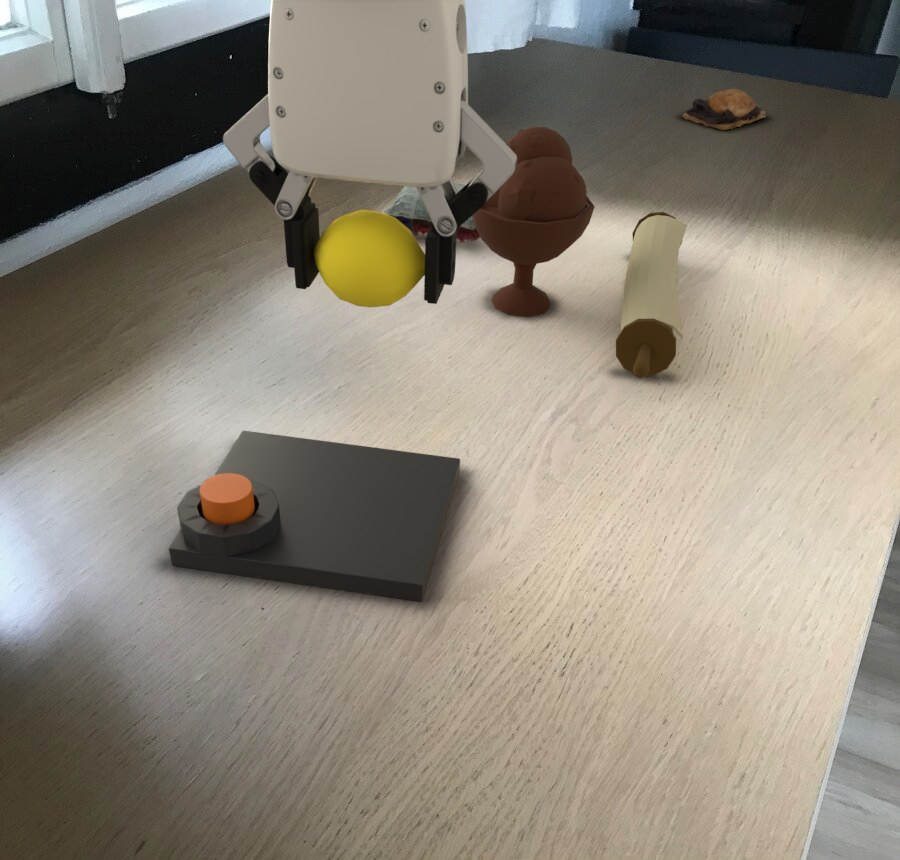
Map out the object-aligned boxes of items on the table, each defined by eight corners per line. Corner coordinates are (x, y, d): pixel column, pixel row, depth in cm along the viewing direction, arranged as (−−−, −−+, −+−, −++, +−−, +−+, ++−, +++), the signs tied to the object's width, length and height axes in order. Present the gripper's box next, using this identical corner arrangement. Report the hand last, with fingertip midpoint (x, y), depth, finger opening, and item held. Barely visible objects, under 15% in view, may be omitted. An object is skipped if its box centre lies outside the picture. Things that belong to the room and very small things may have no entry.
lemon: (301, 315, 58) (295, 223, 54) (328, 278, 61) (324, 190, 58) (418, 330, 57) (419, 237, 53) (437, 291, 61) (440, 203, 57)
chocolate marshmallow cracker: (721, 105, 144) (727, 77, 141) (770, 119, 139) (776, 91, 137) (676, 116, 138) (681, 88, 136) (724, 132, 134) (731, 102, 131)
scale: (170, 566, 61) (163, 528, 59) (243, 446, 72) (239, 410, 70) (421, 602, 60) (422, 565, 58) (459, 474, 70) (461, 438, 68)
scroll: (631, 243, 103) (639, 195, 100) (684, 250, 102) (694, 201, 99) (602, 393, 80) (611, 336, 76) (671, 403, 79) (683, 346, 76)
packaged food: (406, 209, 108) (406, 163, 104) (509, 227, 105) (513, 180, 102) (376, 239, 102) (375, 190, 98) (485, 258, 99) (488, 209, 96)
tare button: (195, 522, 61) (191, 499, 59) (213, 492, 63) (210, 469, 62) (245, 529, 60) (242, 506, 59) (261, 499, 63) (259, 476, 61)
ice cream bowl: (442, 290, 93) (448, 120, 83) (542, 271, 97) (559, 108, 87) (496, 338, 86) (510, 159, 76) (602, 316, 90) (628, 144, 80)
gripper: (555, -71, 48) (523, 277, 60) (217, -95, 50) (250, 247, 62) (539, -46, 43) (508, 332, 55) (160, -74, 45) (209, 297, 56)
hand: (371, 284), depth 58 cm, fingers closed on lemon, 7 cm apart
